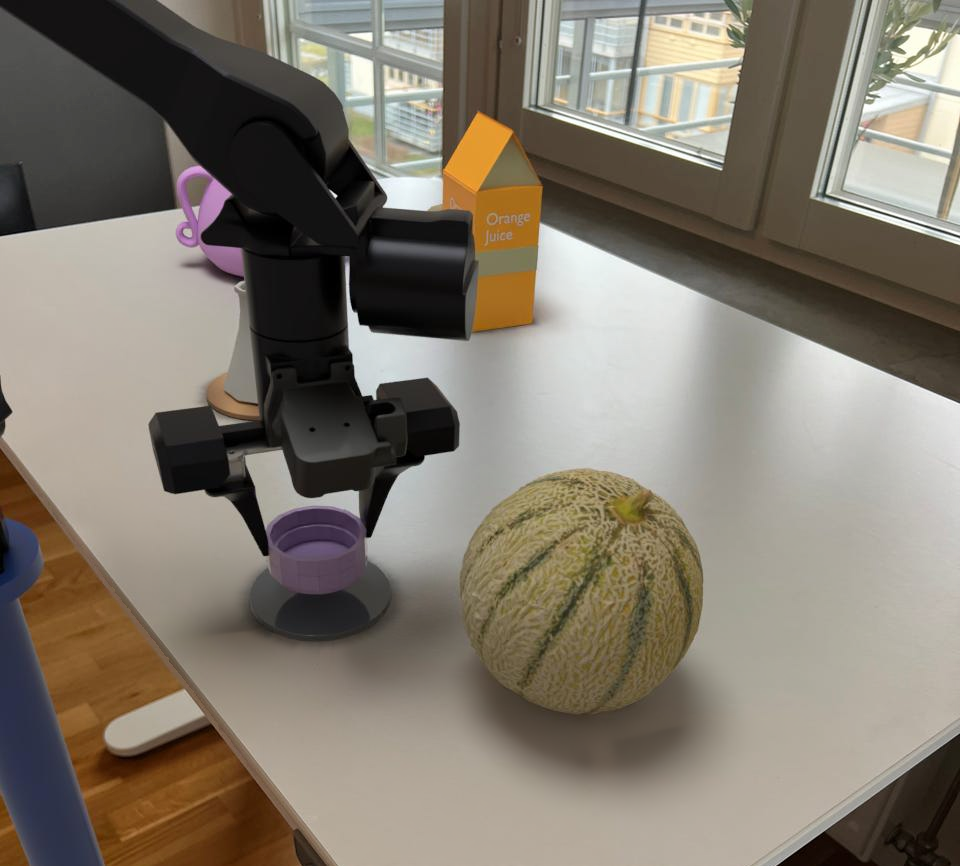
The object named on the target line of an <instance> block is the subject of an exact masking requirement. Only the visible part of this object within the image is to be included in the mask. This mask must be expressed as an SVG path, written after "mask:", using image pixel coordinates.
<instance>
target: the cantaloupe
mask: <svg viewBox="0 0 960 866" xmlns="http://www.w3.org/2000/svg"><path fill="white" fill-rule="evenodd" d="M462 559H463V560H462V565H461V566H462V567H461V569H460V571H459V598H460V601H461V608H460V609H461V617H462V620H463V625H464V628H465V633H466V637H467V638H468V640H469V642H470V646H471V648H472V649H473V651H474V652H475V654H476V656H477V657H478V658H479V659H480V661H481V662H482V663H483V664H484V665H485V667H486V668H487V670H488V671H489V672H490V674H491V675H492V677H494V678H495V679H496V680H497V681H498V683H500V684H501V685H502V686H503V687H505V688H506V689H508V690H510V691H512V692H514V693H515V694H517V695H518V696H520V697H522V698H523V699H525V700H526V701H528V702H530V703H532V704H534V705H537V706H540V707H543V708H545V709H549V710H551V711H554V712H561V713H564V714H572V715H582V714H589V715H593V714H598V713H600V712H601V713H602V712H610V711H615V710H619V709H621V708H625V707H629V706H630V705H632V704H634V703H636V702H638V701H640V700H641V699H643V698H644V697H646V696H648V695H649V694H650V693H651V692H652V691H653V690H654V689H655V688H657V687H658V686H659V685H660V684H661V683H662V682H663V681H664V680H665V679H666V678H667V677H669V676H670V675H671V674H672V673H673V671H675V669H676V668H677V667H678V666H679V664H681V662H682V660H683V659H684V658H685V657H686V655H687V653H688V651H689V649H690V647H691V645H692V643H693V642H694V640H695V637H696V635H697V633H698V631H699V627H700V621H701V615H702V611H703V605H704V603H703V602H704V570H703V564H702V559H701V554H700V551H699V548H698V545H697V543H696V540H695V539H694V537H693V536H692V534H691V533H690V530H689V529H688V528H687V526H686V525H685V522H684V520H683V519H682V517H681V516H680V514H678V513H677V511H676V510H675V508H673V506H671V504H669V503H668V502H667V500H666V499H664V498H663V497H661V496H660V495H658V494H657V493H656V492H653V491H652V490H651V489H648V488H646V487H645V486H643V485H641V484H640V483H639V482H638V481H636V480H634V478H631V477H628V476H625V475H622V474H619V473H616V472H613V471H607V470H598V469H594V468H590V467H581V468H580V467H579V468H572V469H565V470H560V471H554V472H552V473H547V474H545V475H543V476H539V477H537V478H535V479H533V480H531V481H529V482H528V483H525V485H524V486H520V488H519V489H518V490H517V491H515V492H514V493H512V494H511V495H509V496H507V497H506V498H504V499H502V500H501V501H500V502H499V503H498V504H497V505H495V506H494V507H493V508H491V510H490V512H489V513H488V514H487V515H486V516H485V517H484V518H483V520H482V521H481V523H480V524H479V525H478V526H477V528H476V529H475V531H474V532H473V534H472V536H471V538H470V539H469V541H468V545H467V547H466V550H465V552H464V554H463V558H462Z"/></svg>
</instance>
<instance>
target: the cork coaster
mask: <svg viewBox="0 0 960 866" xmlns="http://www.w3.org/2000/svg"><path fill="white" fill-rule="evenodd" d="M227 373H228V371H227V372H224V373H222V374H220V375H218V376H217V377H215V378H214V379H213V380H212V381H211V382H210V383H209V384H208V386H207V388H206V392H205V393H206V394H205V395H206V399H207V403H208V404H209V406H211V407H212V409H213V410H214V411H216V412H218V413H220V414H222V415H224V416H227V417H231V418H233V419H239V420H248V421H259V420H260V417H259V408H258V404H257V403H251V402H244V401H238V400H237V399H235V398H234V397H233V396H231V395H230V394H229V393H227V392H226V391H225V390H224V389H223V388H224V384H225V380H226V377H227Z"/></svg>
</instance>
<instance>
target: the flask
mask: <svg viewBox="0 0 960 866" xmlns="http://www.w3.org/2000/svg"><path fill="white" fill-rule="evenodd" d="M233 288H234V292H235V293H236V294H237V295H238V301H239V319H238V320H239V322H238V330H237V334H236V338H235V343H234V346H233V351H232V354H231V355H232V356H231V359H230V362H229V366H228V369H227V372H228V373H227V372H226V373H227V377H226V380H225V384H224V388H223V389H224V390H225V391H226V392H227V393H229V394H230V395H231V396H233V397H234V398H235V399H237V400H238V401H244V402H251V403H257V404H258V399H257V390H256V381H255V372H254V363H253V354H252V345H251V336H250V327H249V317H248V308H247V299H246V290H245V281H244V280H241V281H239V282H238V283H237V284H235V286H234V287H233Z"/></svg>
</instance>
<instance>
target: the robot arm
mask: <svg viewBox="0 0 960 866" xmlns="http://www.w3.org/2000/svg"><path fill="white" fill-rule="evenodd" d="M0 9H1V10H2V11H4V12H6V13H7V14H8V15H10V16H11V17H13V18H15V19H16V20H17V21H18V22H21V24H24V25H25V26H27V27H28V28H29V29H31V30H33V31H34V32H36V33H37V34H39V35H40V36H42V37H43V38H45V39H46V40H48V41H49V42H50V43H52V44H54V45H55V46H57V47H58V48H60V49H61V50H63V51H64V52H66V53H67V54H69V55H70V56H72V57H73V58H75V59H76V60H77V61H79V62H81V63H82V64H83V65H85V66H87V67H88V68H90V69H91V70H93V71H94V72H95V73H97V74H99V75H100V76H102V77H103V78H105V79H106V80H107V81H109V82H111V83H112V84H114V85H115V86H117V87H118V88H120V89H121V90H123V91H124V92H126V93H128V94H129V95H130V96H132V97H134V98H135V99H137V100H138V101H139V102H141V103H142V104H144V105H145V106H147V107H148V108H149V109H150V110H151V111H152V112H153V113H154V114H155V115H157V116H158V117H159V118H160V119H161V120H162V121H163V122H164V123H165V124H166V125H167V126H168V127H169V128H170V130H171V131H172V133H173V134H174V135H175V137H176V138H177V140H178V141H179V142H180V144H181V145H182V146H183V148H184V149H185V151H186V152H187V153H188V155H189V157H190V158H191V159H192V160H193V161H194V162H195V163H196V164H198V166H201V167H202V168H203V169H204V170H205V171H207V172H208V173H209V174H210V175H211V176H212V177H213V178H214V179H215V180H217V181H218V182H219V183H220V184H221V185H222V186H223V187H224V188H226V189H227V190H228V191H229V192H230V193H231V194H232V195H231V196H229V197H228V198H227V199H226V200H225V202H224V205H223V207H222V209H221V211H220V213H219V215H218V216H217V218H216V219H215V220H214V221H213V222H212V223H211V224H210V225H209V226H208V227H207V228H206V229H205V230H204V231H203V232H202V233H201V235H200V236H201V240H202V242H203V243H204V244H206V245H210V246H222V247H234V248H241V254H242V263H243V272H244V277H243V281H245V290H246V299H247V308H248V317H249V327H250V336H251V345H252V354H253V363H254V372H255V381H256V390H257V399H258V408H259V417H260V420H250V421H245V422H238V423H237V422H236V423H230V424H223V425H219V422H218V419H217V418H216V415H215V413H214V409H213V408H212V407H211V406H210V405H204V406H196V407H189V408H181V409H175V410H174V409H172V410H166V411H158V412H154V415H153V416H152V417H151V419H150V421H149V422H148V425H147V426H148V431H149V437H150V441H151V447H152V452H153V456H154V459H155V463H156V466H157V470H158V474H159V478H160V482H161V485H162V488H163V491H164V492H166V493H168V494H173V495H179V494H187V493H194V492H198V491H204V493H205V494H206V496H208V497H210V498H221V497H223V498H225V499H226V500H228V501H229V502H230V503H231V504H232V505H233V507H234V508H235V509H236V511H237V512H238V513H239V514H240V516H241V518H242V519H243V521H244V523H245V524H246V526H247V528H248V531H249V532H250V534H251V536H252V538H253V540H254V542H255V543H256V545H257V548H258V549H259V551H260V553H261V556H262V557H266V556H269V552H268V546H269V545H268V538H267V534H266V527H265V524H264V519H263V516H262V512H261V508H260V505H259V501H258V498H257V490H256V485H255V483H254V481H253V477H252V475H251V473H250V471H249V468H248V466H247V462H246V456H249V455H257V454H264V453H269V452H277V451H282V453H283V456H284V460H285V463H286V466H287V470H288V473H289V476H290V480H291V484H292V487H293V489H294V491H295V492H296V494H297V495H299V496H300V497H302V498H305V499H317V498H323V496H325V495H328V494H329V495H330V494H335V493H341V492H347V491H354V492H358V515H359V518H360V519H361V521H362V523H363V525H364V526H365V528H366V530H367V539H370V538H372V536H373V534H374V531H375V529H376V526H377V524H378V521H379V519H380V516H381V513H382V512H383V509H384V506H385V504H386V501H387V498H388V496H389V495H390V492H391V489H392V487H393V486H394V484H395V482H396V480H397V479H398V477H399V476H400V474H402V473H403V472H404V473H405V472H406V471H407V470H408V469H410V468H413V467H418V466H421V465H422V464H423V463H424V461H425V459H426V456H432V455H439V454H445V453H451V452H455V451H456V450H457V449H458V448H459V447H460V431H461V430H460V429H461V427H460V426H461V422H460V419H459V415H458V411H457V410H456V408H455V407H454V405H452V403H451V402H450V401H449V400H448V398H447V397H446V395H445V394H444V393H443V392H442V390H441V389H440V388H439V387H438V385H436V383H434V381H433V380H431V379H430V378H429V377H422V378H413V379H406V380H397V381H390V382H384V383H382V382H381V383H379V384H378V386H377V388H376V390H375V399H374V397H373V396H374V395H372V394H368V395H363V394H362V391H361V389H360V386H359V383H358V381H357V379H356V376H355V373H356V372H355V365H354V356H353V352H352V351H351V350H350V342H349V340H350V339H349V337H350V336H349V321H348V320H349V319H348V317H349V316H348V298H347V295H348V294H347V277H346V276H347V275H346V258H347V257H348V261H349V262H348V265H349V268H348V269H349V272H348V293H349V303H350V307H351V310H352V312H353V313H354V314H356V315H357V321H358V325H359V326H363V327H368V329H369V331H370V332H371V333H373V334H384V335H394V336H405V337H418V338H428V339H438V340H439V339H440V340H451V341H461V342H469V341H470V340H471V338H472V337H471V336H472V333H473V332H472V329H473V323H474V316H475V309H476V299H477V287H478V267H479V261H478V260H475V241H474V235H473V233H472V229H473V214H472V213H471V212H470V211H469V210H456V209H447V210H441V211H427V210H419V209H408V208H407V209H405V208H395V207H384V206H385V205H386V203H387V201H388V195H387V193H386V191H385V190H384V189H383V187H382V186H381V184H380V182H379V181H378V180H377V178H376V177H375V175H374V173H373V172H372V171H371V170H370V168H369V167H368V165H367V164H366V162H365V160H364V159H363V158H362V156H361V155H360V153H359V151H358V150H357V149H356V148H355V145H353V143H352V141H351V140H350V137H349V133H350V132H349V125H348V122H347V119H346V114H345V111H344V106H343V105H344V104H342V102H341V100H340V99H339V97H338V96H337V94H336V93H335V92H334V91H333V90H332V89H331V88H330V87H329V86H328V85H327V84H326V83H325V82H324V81H322V80H321V79H319V78H317V77H315V76H314V75H312V74H310V73H308V72H305V71H304V70H301V69H300V68H297V67H295V66H294V65H291V64H288V63H287V62H284V61H283V60H281V59H278V58H276V57H273V56H272V55H270V54H267V53H266V52H263V51H260V50H258V49H255V48H251V47H249V46H245V45H242V44H238V43H235V42H232V41H229V40H226V39H223V38H220V37H217V36H215V35H213V34H211V33H209V32H207V31H205V30H203V29H201V28H198V27H197V26H195V25H193V24H192V23H190V22H189V21H187V20H186V19H185V18H183V17H182V16H180V15H179V14H177V13H176V12H174V11H173V10H172V9H170V8H169V7H168V6H166V5H165V4H163V3H162V2H160V1H159V0H0ZM334 195H336V197H335V196H334ZM345 257H346V258H345ZM1 377H2V376H0V439H1V438H2V436H3V435H4V434H5V432H6V420H7V419H8V418H9V417H10V416H11V415H12V414H13V410H12V408H11V406H10V405H9V403H8V401H7V400H6V397H5V394H4V391H3V388H2V380H1ZM4 518H5V516H4V513H3V510H2V506H0V574H2V573H4V572H5V553H8V551H9V550H10V547H9V532H8V529H7V526H6V522H5V519H4Z"/></svg>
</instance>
